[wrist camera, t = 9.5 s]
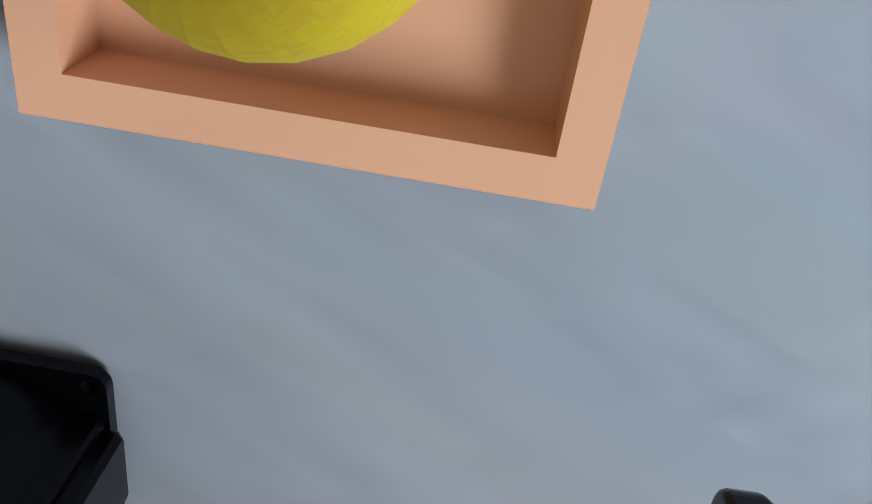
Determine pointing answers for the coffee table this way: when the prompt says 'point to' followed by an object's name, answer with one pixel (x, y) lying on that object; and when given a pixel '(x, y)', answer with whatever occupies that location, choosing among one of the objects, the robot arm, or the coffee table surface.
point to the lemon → (271, 25)
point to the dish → (360, 90)
